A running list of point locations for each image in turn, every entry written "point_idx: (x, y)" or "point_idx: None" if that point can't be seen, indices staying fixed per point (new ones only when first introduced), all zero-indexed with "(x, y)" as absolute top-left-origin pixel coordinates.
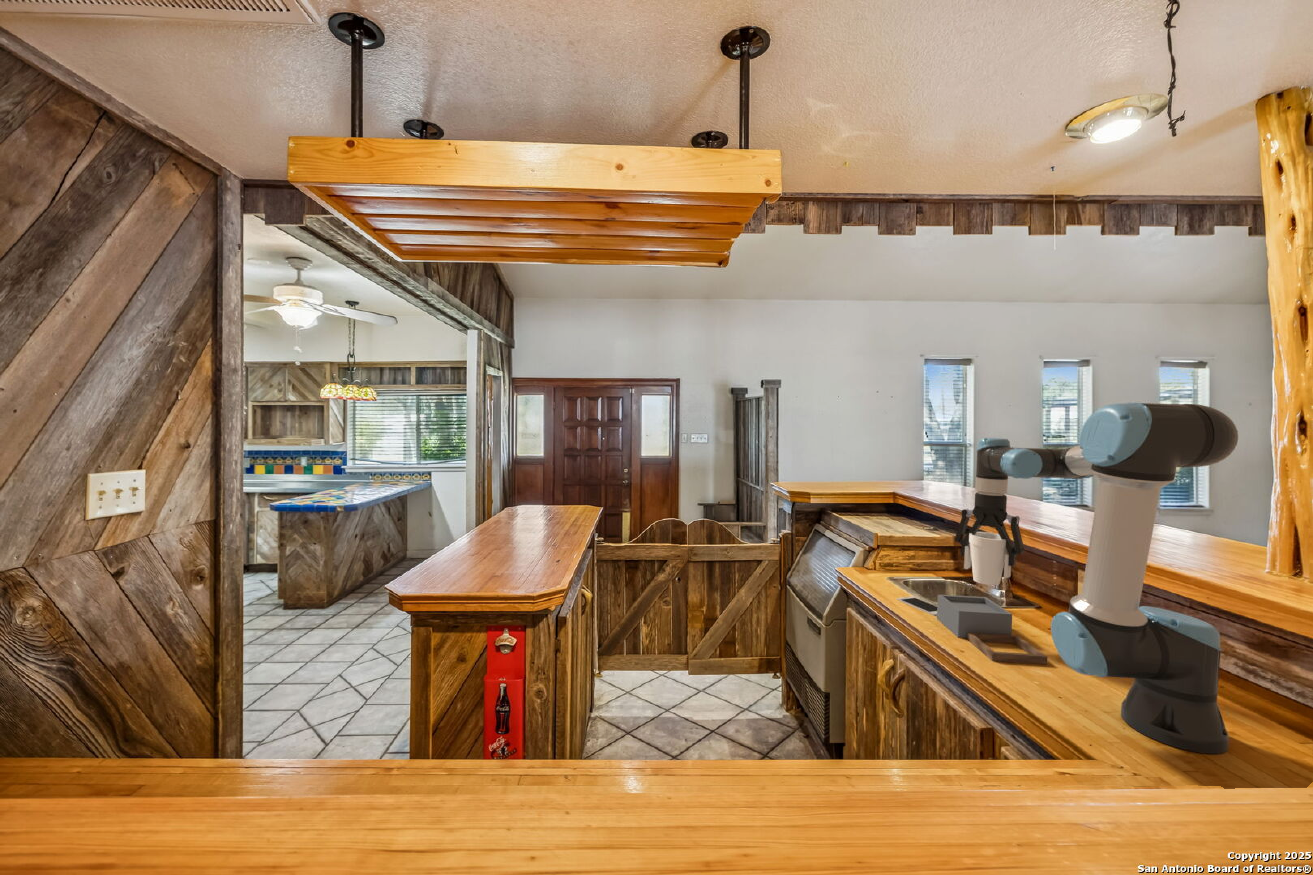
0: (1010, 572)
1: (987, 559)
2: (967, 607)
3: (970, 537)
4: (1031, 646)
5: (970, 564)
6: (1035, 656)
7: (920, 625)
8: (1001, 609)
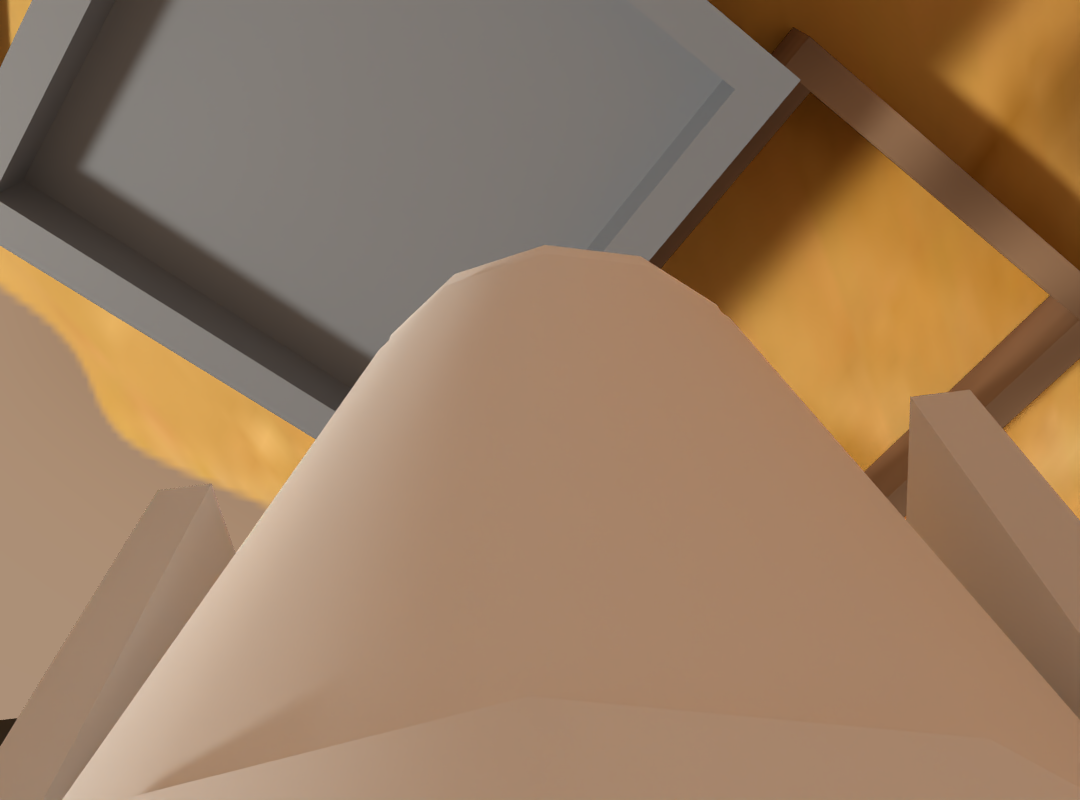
0: (1004, 439)
1: None
2: (303, 136)
3: None
4: (982, 208)
5: (194, 529)
6: (1052, 379)
7: (158, 419)
8: (643, 13)
